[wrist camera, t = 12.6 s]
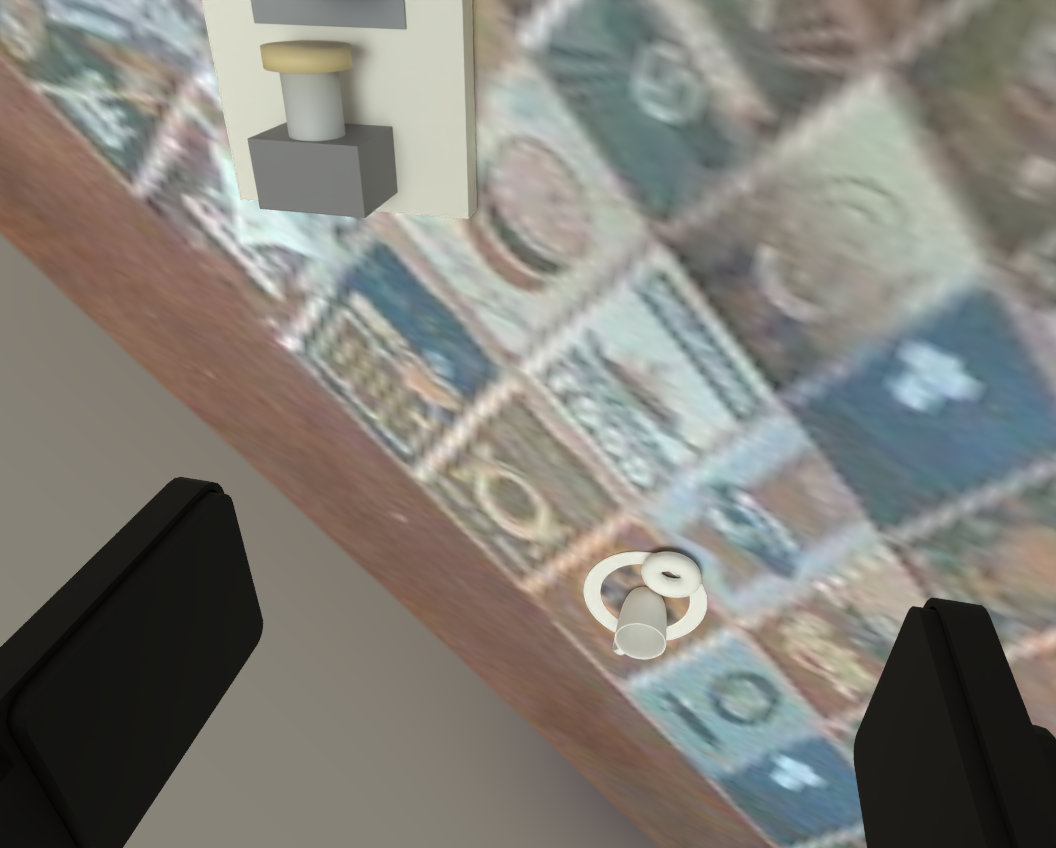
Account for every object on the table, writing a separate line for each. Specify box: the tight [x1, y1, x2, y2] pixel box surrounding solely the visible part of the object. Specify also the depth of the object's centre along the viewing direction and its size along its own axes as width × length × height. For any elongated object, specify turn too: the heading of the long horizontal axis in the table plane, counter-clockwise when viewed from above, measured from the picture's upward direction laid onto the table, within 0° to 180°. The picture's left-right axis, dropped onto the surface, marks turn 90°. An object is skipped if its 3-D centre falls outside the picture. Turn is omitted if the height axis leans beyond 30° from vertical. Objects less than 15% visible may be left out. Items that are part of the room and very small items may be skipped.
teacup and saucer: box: [584, 551, 707, 659], centre depth 47 cm, size 9×8×4 cm
